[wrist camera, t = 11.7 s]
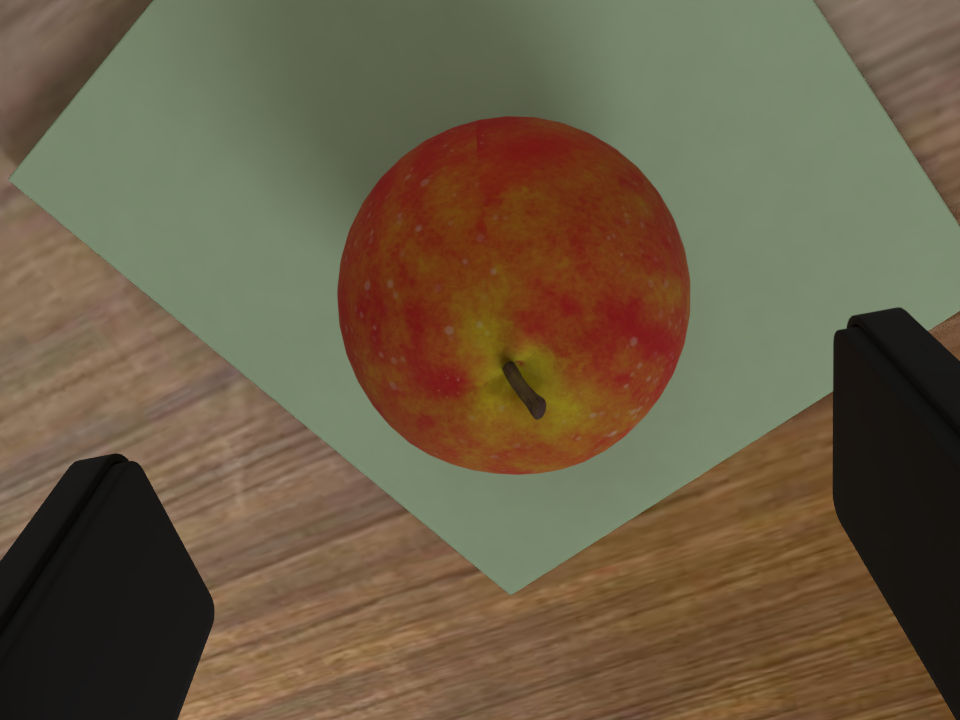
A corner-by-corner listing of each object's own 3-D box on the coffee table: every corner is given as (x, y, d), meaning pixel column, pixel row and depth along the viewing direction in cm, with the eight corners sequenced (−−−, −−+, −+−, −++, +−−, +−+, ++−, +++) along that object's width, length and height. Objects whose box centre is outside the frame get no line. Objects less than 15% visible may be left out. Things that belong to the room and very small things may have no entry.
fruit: (405, 380, 21) (360, 610, 14) (329, 120, 18) (220, 253, 11) (668, 335, 20) (757, 556, 13) (639, 54, 17) (737, 153, 10)
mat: (20, 172, 19) (6, 180, 19) (519, -441, 14) (520, -454, 13) (510, 582, 25) (510, 596, 25) (986, 276, 20) (999, 286, 19)
